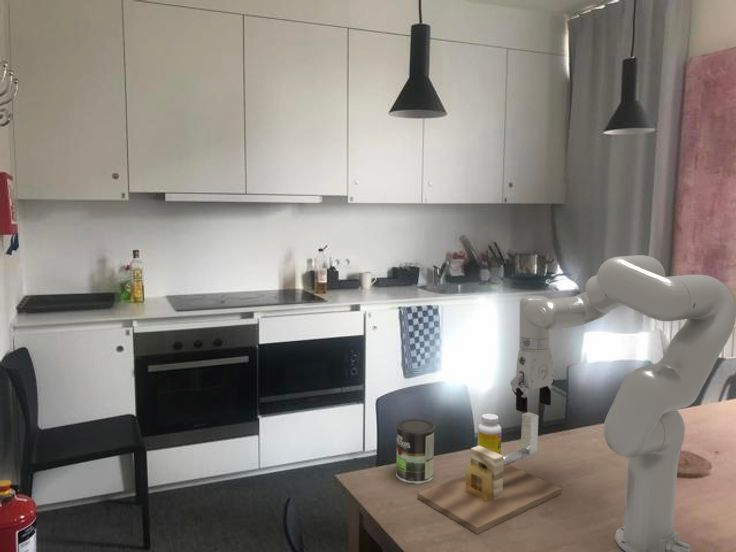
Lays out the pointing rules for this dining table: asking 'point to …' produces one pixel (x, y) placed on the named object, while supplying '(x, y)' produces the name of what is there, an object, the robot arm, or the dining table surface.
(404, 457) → the coffee can
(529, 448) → the crank handle
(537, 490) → the bearing stand
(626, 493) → the robot arm
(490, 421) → the supplement bottle
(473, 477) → the frame
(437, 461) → the dining table surface
